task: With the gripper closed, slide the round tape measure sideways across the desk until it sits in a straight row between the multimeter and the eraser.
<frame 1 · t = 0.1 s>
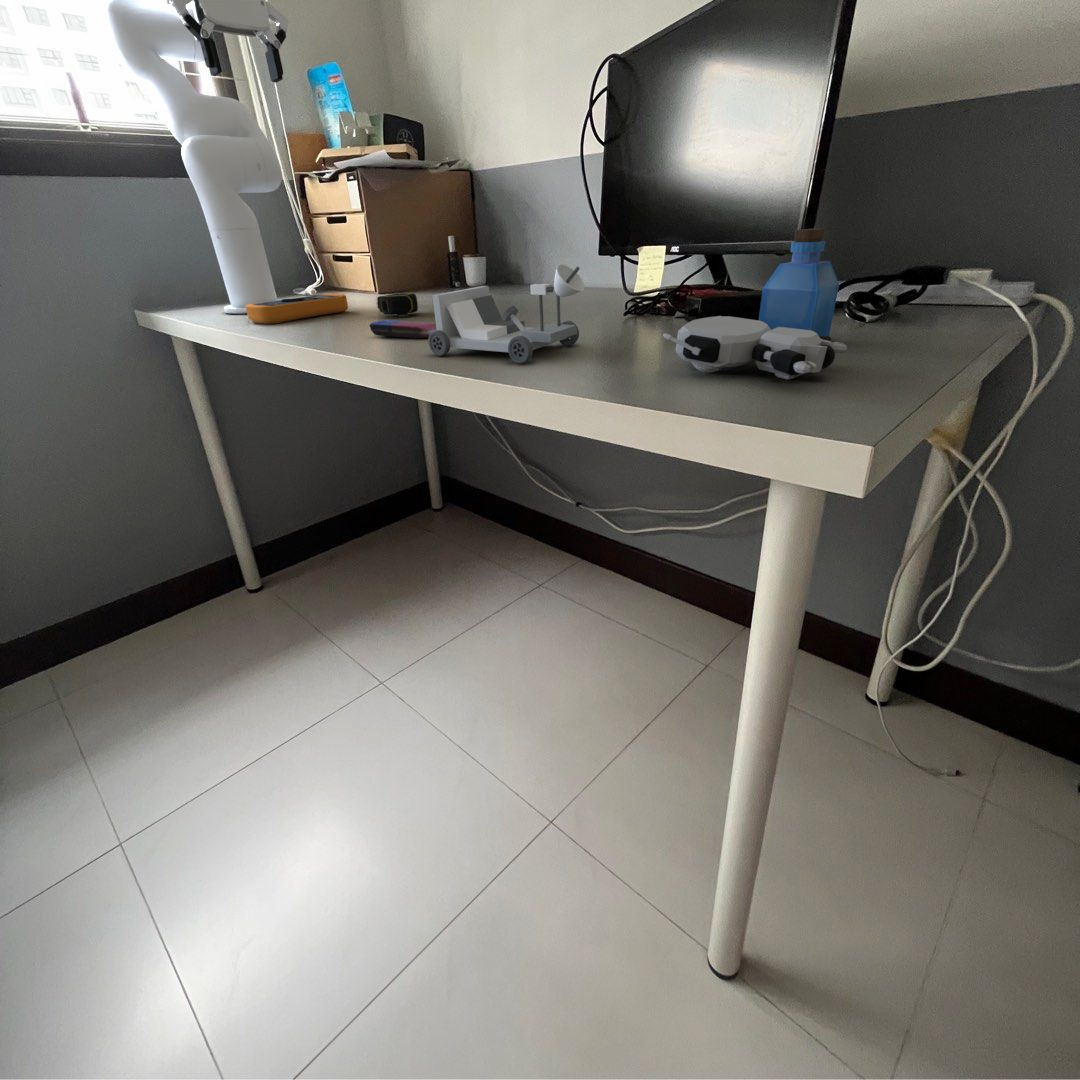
hand: (247, 77, 92), 37 cm above the table, tool pointing down, fingers open, 9 cm apart
multimeter: (300, 318, 112), on the table
eraser: (406, 337, 86), on the table
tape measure: (398, 316, 107), on the table
perfume bottle: (791, 343, 69), on the table
toy car: (513, 352, 72), on the table
robot toy: (750, 373, 57), on the table
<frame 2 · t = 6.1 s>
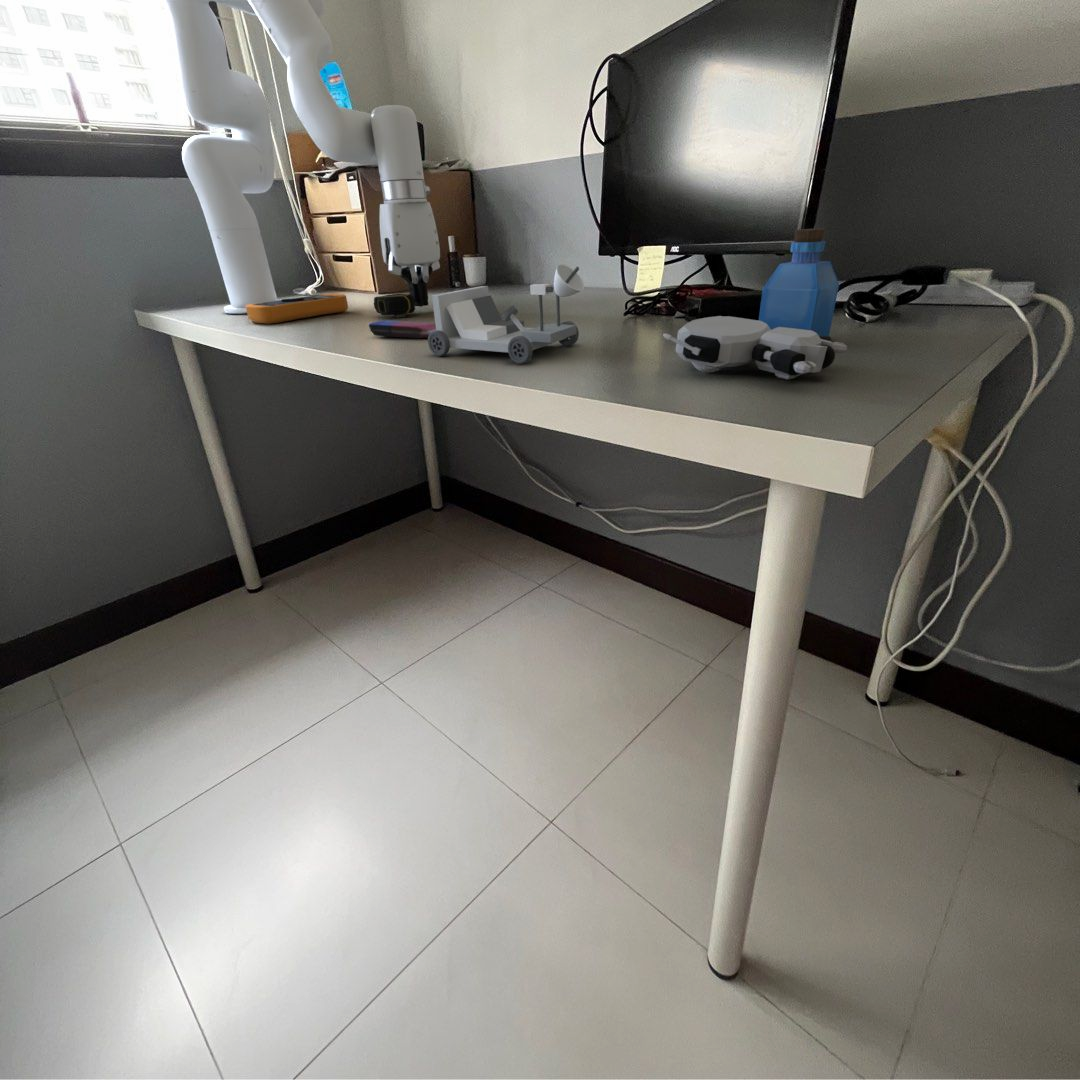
hand: (420, 305, 109), 1 cm above the table, tool pointing down, fingers closed
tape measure: (395, 317, 106), on the table, touching gripper
everything else where it was.
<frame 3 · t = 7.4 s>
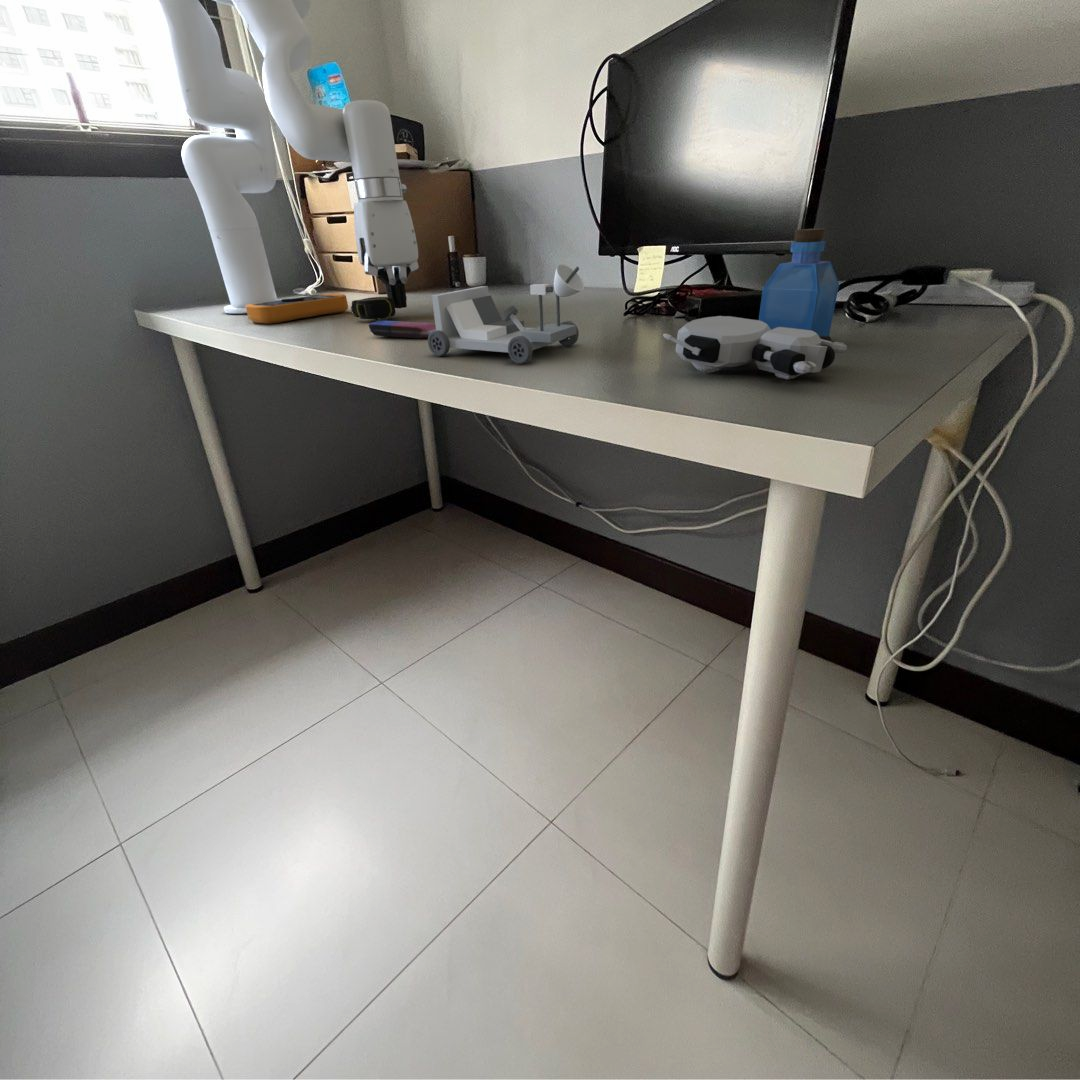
hand: (398, 307, 106), 1 cm above the table, tool pointing down, fingers closed
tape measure: (375, 321, 103), on the table, touching gripper
everything else where it was.
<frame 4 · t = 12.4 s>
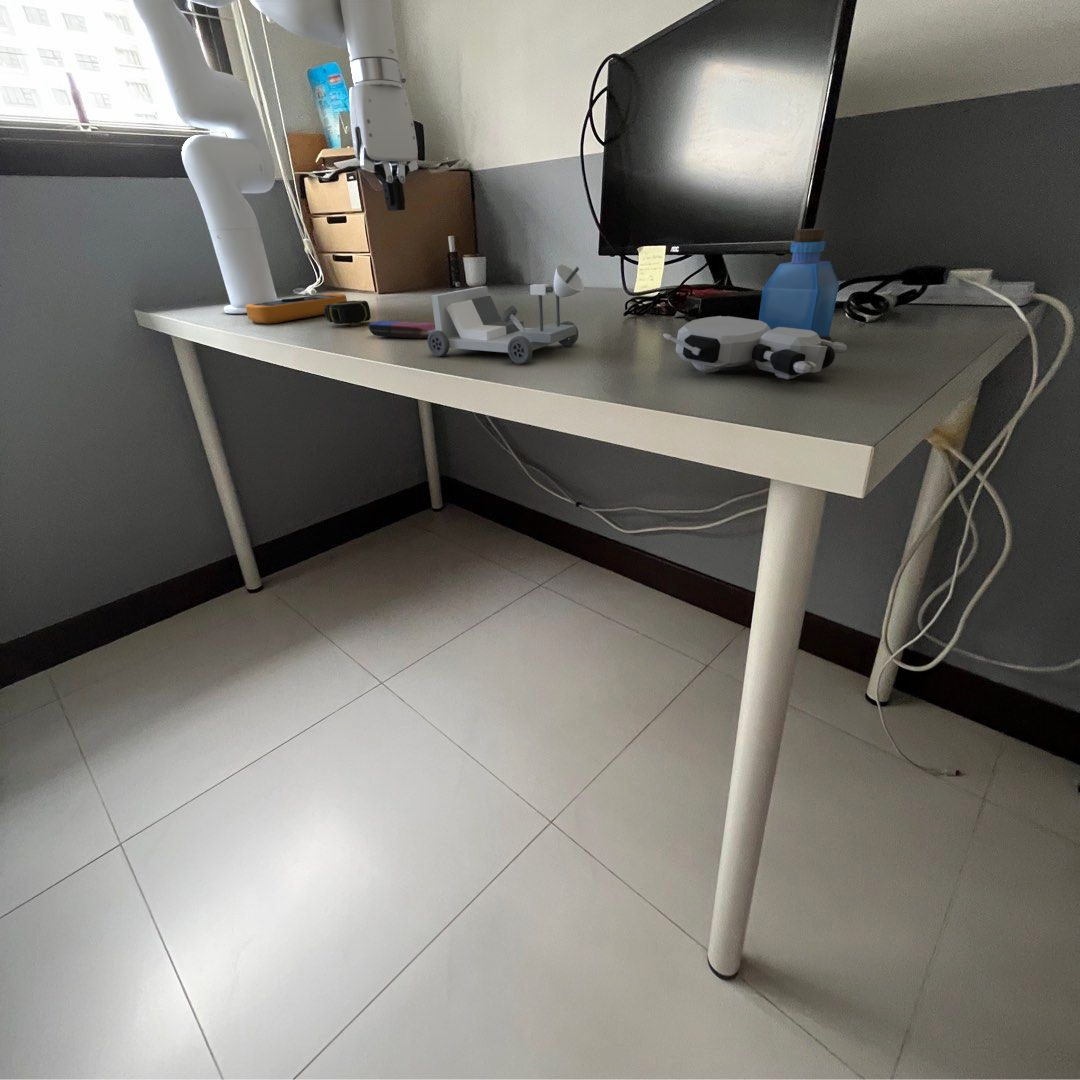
hand: (396, 210, 100), 17 cm above the table, tool pointing down, fingers closed
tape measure: (349, 326, 99), on the table
everything else where it was.
at the end: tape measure inside the target area (1.3 cm from its centre), on the table; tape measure tilted 0°; eraser moved 0.3 cm from its start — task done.
